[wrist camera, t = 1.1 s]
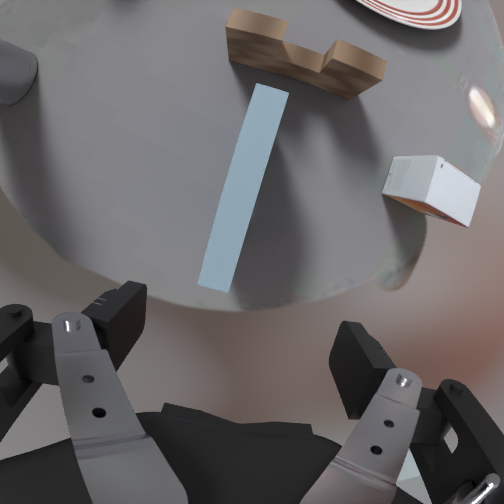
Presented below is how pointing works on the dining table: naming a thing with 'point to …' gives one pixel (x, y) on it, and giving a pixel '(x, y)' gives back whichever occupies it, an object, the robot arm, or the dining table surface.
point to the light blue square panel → (242, 186)
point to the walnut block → (300, 56)
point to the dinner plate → (418, 12)
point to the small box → (432, 188)
